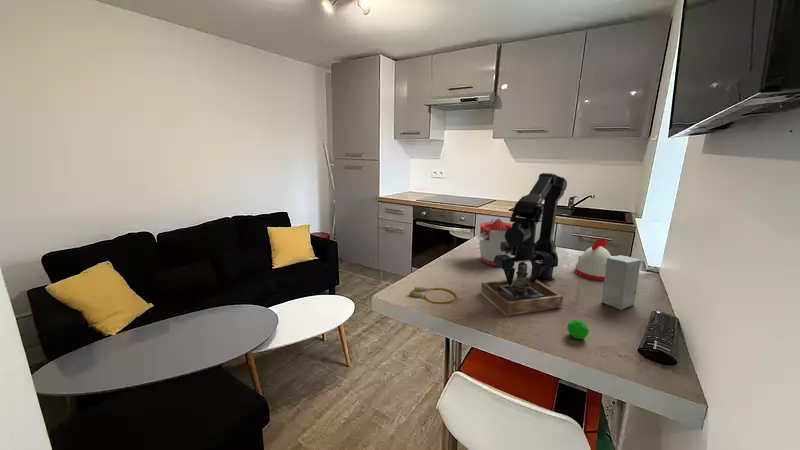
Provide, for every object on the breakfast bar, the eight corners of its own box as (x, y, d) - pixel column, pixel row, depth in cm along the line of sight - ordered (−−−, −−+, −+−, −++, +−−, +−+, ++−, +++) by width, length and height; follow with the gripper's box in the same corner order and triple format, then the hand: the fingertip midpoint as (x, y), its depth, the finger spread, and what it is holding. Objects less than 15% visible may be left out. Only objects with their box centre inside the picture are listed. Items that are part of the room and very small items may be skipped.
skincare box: (620, 311, 101) (629, 263, 98) (598, 301, 107) (605, 256, 104) (635, 305, 105) (644, 259, 101) (613, 296, 111) (620, 253, 107)
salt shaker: (510, 289, 111) (513, 256, 108) (528, 291, 110) (531, 257, 107) (511, 296, 106) (514, 262, 103) (530, 298, 104) (534, 263, 101)
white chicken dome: (622, 277, 128) (628, 241, 125) (600, 283, 122) (606, 245, 119) (589, 265, 140) (594, 232, 137) (567, 270, 134) (572, 236, 131)
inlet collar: (523, 290, 114) (524, 282, 114) (543, 304, 105) (544, 295, 104) (497, 293, 112) (498, 285, 111) (515, 307, 102) (515, 299, 101)
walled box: (530, 287, 118) (531, 277, 117) (561, 307, 103) (563, 296, 102) (481, 293, 113) (481, 282, 112) (506, 315, 98) (507, 303, 97)
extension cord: (425, 284, 121) (425, 280, 121) (462, 296, 112) (463, 291, 112) (406, 296, 112) (406, 291, 111) (445, 310, 103) (445, 304, 102)
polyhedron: (562, 333, 89) (564, 318, 88) (576, 331, 90) (578, 315, 89) (576, 344, 84) (579, 327, 83) (591, 340, 86) (594, 324, 84)
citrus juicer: (467, 259, 147) (469, 217, 143) (497, 254, 154) (500, 213, 150) (490, 271, 133) (493, 224, 129) (521, 265, 141) (525, 220, 136)
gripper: (534, 230, 113) (530, 272, 117) (486, 234, 109) (483, 277, 112) (556, 239, 103) (551, 284, 106) (505, 243, 98) (501, 290, 102)
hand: (521, 283), depth 107 cm, fingers open, 8 cm apart
